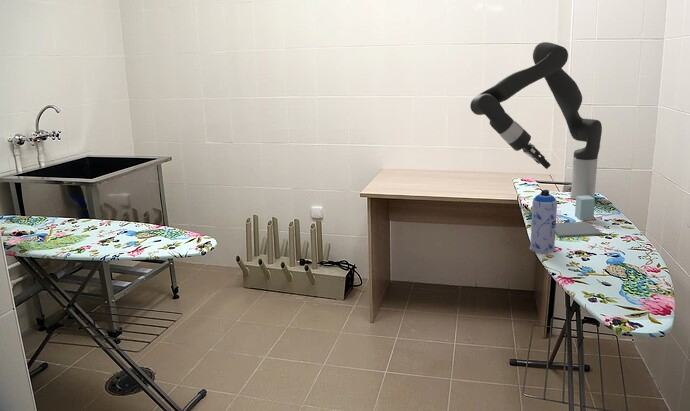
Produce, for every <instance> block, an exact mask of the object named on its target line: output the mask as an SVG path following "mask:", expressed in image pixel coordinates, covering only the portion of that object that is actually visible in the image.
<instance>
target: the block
mask: <svg viewBox="0 0 690 411" xmlns="http://www.w3.org/2000/svg"><path fill="white" fill-rule="evenodd" d="M595 206H596V198H595V197H594V198H593V197H591V196H590V195H588V196H576V199H575V209H574V210H575V211H574V217H575V218H577V219H578V220H579V221H588V220H591V221H593V220H594V218H595V217H594V216H595Z"/></svg>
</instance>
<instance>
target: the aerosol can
mask: <svg viewBox="0 0 690 411" xmlns="http://www.w3.org/2000/svg"><path fill="white" fill-rule="evenodd" d="M557 201H558V200H557V199H556V198H555V196H553V195H552V194H550V190H548V189H543V190H541V193H539V194H538V195H536V196H535V197H534V198H533V199H532V204H531V205H532V208H531V226H530V246H529V250H530V251H531V252H534V253H537V254H551V253H554V252H555V251H556V248H555V244H556V242H555V240H556V233H555V229H556V223H557V211H558V210H557V208H558V202H557Z"/></svg>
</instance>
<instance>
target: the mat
mask: <svg viewBox="0 0 690 411" xmlns="http://www.w3.org/2000/svg"><path fill="white" fill-rule="evenodd" d="M555 235H557V236H558V237H559V238H565V237H585V236H586V237H588V236H590V237H591V236H604V233H603V232H602V231H600V230H599V229H598V228H596V226H594V225H593V224H591V223H590V222H588V221H575V222H574V221H572V222H570V221H569V222H556V229H555Z"/></svg>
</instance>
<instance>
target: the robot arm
mask: <svg viewBox="0 0 690 411" xmlns="http://www.w3.org/2000/svg"><path fill="white" fill-rule="evenodd" d="M568 59H569V53H568V50H567V49H566V47H564V46H561V45H559V44H556V43H552V42H548V41H547V42H546V41H542V42H539V43H538V44H536V45H535V47H534V49H533V51H532V61H533V63H534V64H533V65H532V66H529V67H527V68H524V69H521V70H518V71H514V72H512V73H510V74H508V75H506V76H505V77H503V78H502V79H501V80H499V81H498V82H496V83H495V84H494V85H492V86H491V87H489V88H488V89H486V90H485V91H483V92H480V93H479V94H477V95H476V96H474V97H473V98H472V99H471V101H470V105H469V106H470V110H471V112H472V113H473V114H474V115H476V116H483V115H485V117H486V118H488V120H489V126H491V128H492V129H493V130H494V131H495V132H496V133H497V134H499V136H500V137H501V138H502V139H503V141H505V142H506V143H507V144H508V145H509V146H510V148H512V150H514V151H515V152H516V151H517V152H519V151H520V150H521V151H522V152H523V153H524V154H525V155H526V156H528V157H529V158H531V159H532V160H534V162H536V163H537V164H538V165H542V167H543V168H544V169H546V170H548V169H549V168H550V167H551V163H550V162H549V161H548V160H547V159H546V157H545V155H543V154H542V153H541V151H540V150H539V149H537V147H536V146H535V145H534V144H532V143H531V142H530V141H531V139H532V135H530V134H529V132H527V130H525V129H524V128H523V127H522V126H521V124H519V123H518V122H517V121H515V120H514V119H513V118H512V117H511V116H510V115H509V114H508V113H507V112H506V111H505V109H504V108H503V106H502V104H501V103H503V102H506V101H507V100H509V99H510V98H511V97H514V96H515V95H516V94H517V93H518V92H520V91H522V90H523V89H525V88H526V87H528V86H530V85H532V84H534V83H535V82H537V81H539V80H542V79H543V78H544V79H545V81H546V84H547V85H548V88H549V90H550V91H551V93H552V95H553V97H554V100H555V101H556V104H557V105H558V107H559V109H560V110H561V113H562V115H563V117H564V119H565V121H566V125H567V128H568V132H569V133H570V136H571V137H572V138H573V139H574V140H575V141H578V142H585V143H586V145H585V147H582V148H578V149H575V150H574V151H573V158H572V160H573V161H572V175H571V191H570V197H571V199H573V200H576V196H588V195H590V196H591V197H593V198H594V199H595V196H596V186H597V185H596V183H597V172H598V170H597V169H598V157H599V153H600V148H601V141H602V140H601V138H602V132H603V128H602V123H601V121H600V120H599V119H595V118H594V119H592V118H582V116H581V115H580V112H579V109H580V108H581V105H582V104H583V103H582V102H583V94H582V93H581V90H580V88H579V86H578V84H577V82H576V81H575V80H574V79H573V78H572V77H571V76H570V75H569V74H568V73H567V72H566V71H565V70H564V69H563V67H564V66H565V65H566V63H567V62H568Z"/></svg>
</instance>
